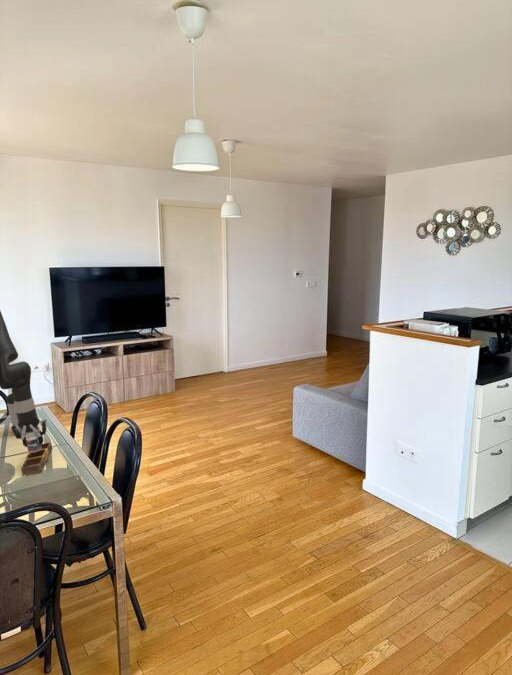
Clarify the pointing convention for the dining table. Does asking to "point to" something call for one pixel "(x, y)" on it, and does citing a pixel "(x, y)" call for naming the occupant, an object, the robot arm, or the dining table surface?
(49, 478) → the dining table surface
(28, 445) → the pill bottle
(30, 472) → the rack
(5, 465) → the dining table surface
